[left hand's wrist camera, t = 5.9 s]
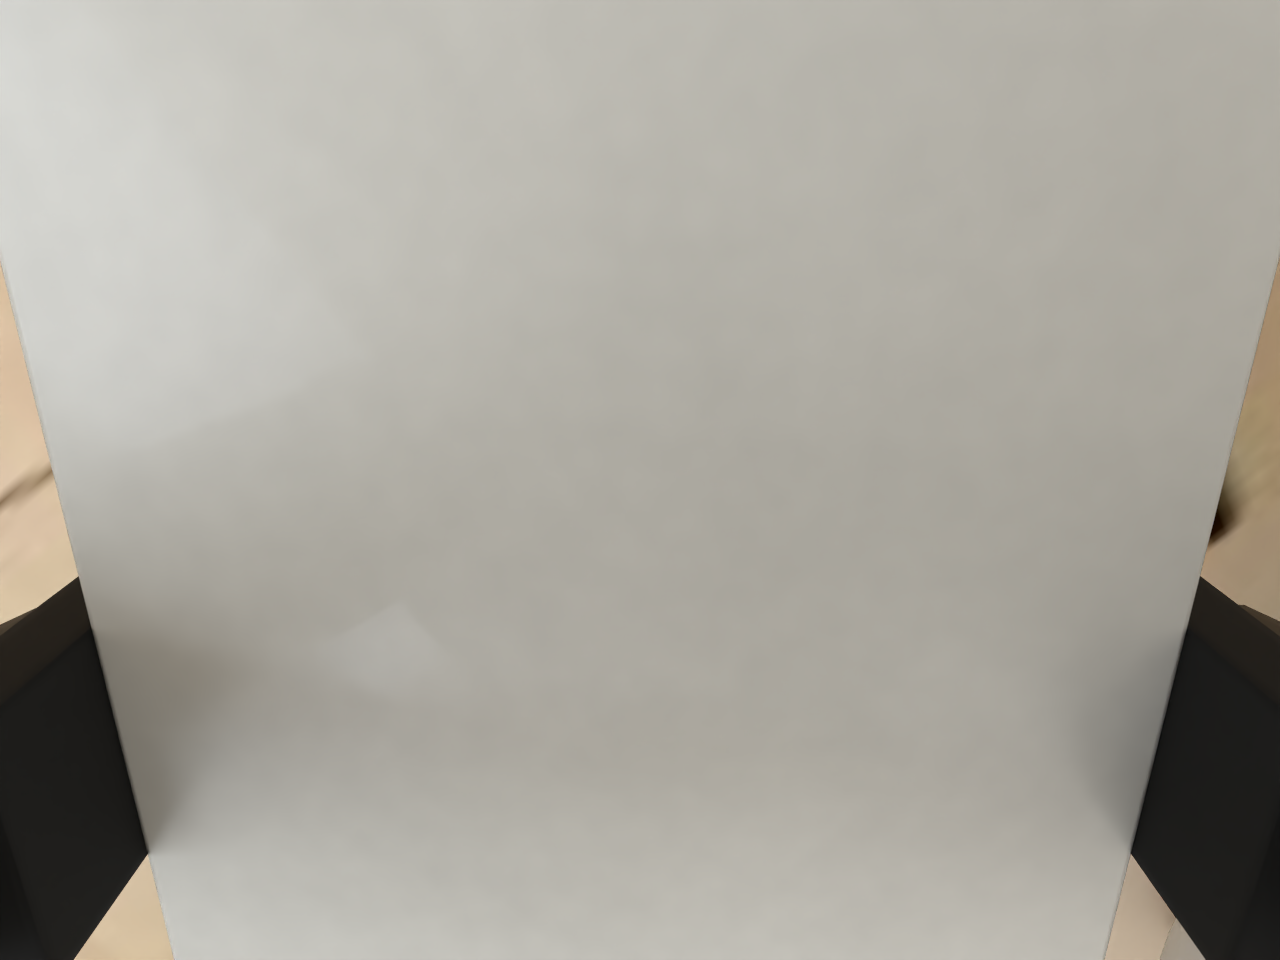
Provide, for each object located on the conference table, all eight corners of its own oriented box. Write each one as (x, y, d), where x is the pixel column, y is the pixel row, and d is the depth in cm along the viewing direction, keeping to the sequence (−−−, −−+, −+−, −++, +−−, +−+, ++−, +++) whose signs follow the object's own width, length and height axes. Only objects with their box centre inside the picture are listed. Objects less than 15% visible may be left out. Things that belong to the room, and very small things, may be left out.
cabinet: (328, -371, 14) (-527, -1827, 4) (950, -370, 14) (1809, -1827, 4) (418, 546, 20) (174, 974, 10) (860, 546, 20) (1104, 974, 10)
